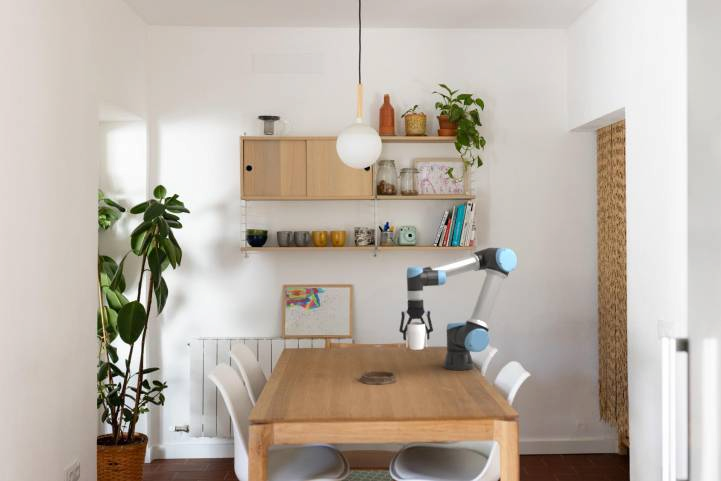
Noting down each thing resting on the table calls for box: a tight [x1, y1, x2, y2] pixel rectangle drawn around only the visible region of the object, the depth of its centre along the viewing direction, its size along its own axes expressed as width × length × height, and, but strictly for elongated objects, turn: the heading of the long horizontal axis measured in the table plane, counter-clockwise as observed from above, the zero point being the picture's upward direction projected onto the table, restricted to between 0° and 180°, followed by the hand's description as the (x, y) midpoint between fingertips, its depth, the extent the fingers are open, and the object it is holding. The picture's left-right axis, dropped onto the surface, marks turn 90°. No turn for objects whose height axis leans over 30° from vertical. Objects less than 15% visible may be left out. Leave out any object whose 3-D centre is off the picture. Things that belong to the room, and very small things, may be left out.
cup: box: [406, 321, 426, 351], centre depth 318 cm, size 9×9×12 cm
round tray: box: [360, 370, 398, 386], centre depth 313 cm, size 17×17×3 cm
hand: (416, 346), depth 319 cm, fingers closed on cup, 9 cm apart
